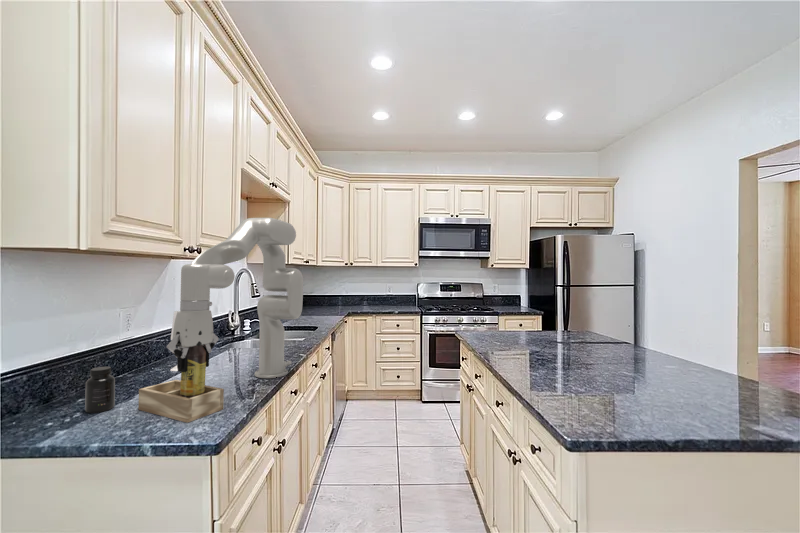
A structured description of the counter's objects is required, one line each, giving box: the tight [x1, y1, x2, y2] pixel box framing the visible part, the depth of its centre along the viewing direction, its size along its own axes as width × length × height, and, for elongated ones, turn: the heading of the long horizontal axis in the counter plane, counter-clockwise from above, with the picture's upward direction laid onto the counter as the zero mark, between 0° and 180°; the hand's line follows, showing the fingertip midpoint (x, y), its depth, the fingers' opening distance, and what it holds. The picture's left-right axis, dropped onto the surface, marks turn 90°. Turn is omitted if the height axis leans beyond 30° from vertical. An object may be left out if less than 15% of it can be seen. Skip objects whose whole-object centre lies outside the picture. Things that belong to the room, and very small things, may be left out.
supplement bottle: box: [84, 366, 116, 414], centre depth 112 cm, size 7×7×12 cm
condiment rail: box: [137, 379, 225, 424], centre depth 112 cm, size 11×22×6 cm, turn 65°
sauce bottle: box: [180, 331, 207, 398], centre depth 110 cm, size 6×6×20 cm
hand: (193, 368), depth 110 cm, fingers closed on sauce bottle, 6 cm apart
